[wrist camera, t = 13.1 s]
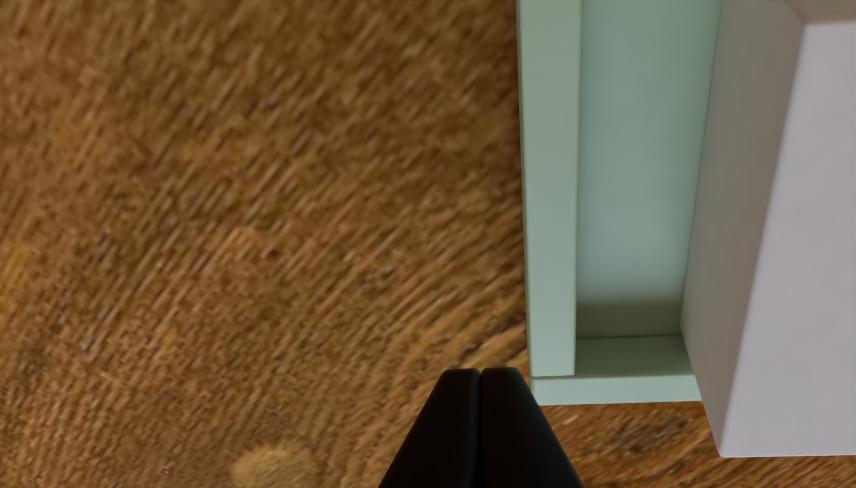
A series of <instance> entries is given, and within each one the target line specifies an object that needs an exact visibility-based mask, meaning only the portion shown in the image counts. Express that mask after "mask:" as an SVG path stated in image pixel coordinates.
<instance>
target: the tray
mask: <svg viewBox="0 0 856 488" xmlns="http://www.w3.org/2000/svg"><path fill="white" fill-rule="evenodd" d="M722 1H723V0H516V27H517V57H518V87H519V117H520V148H521V178H522V208H523V238H524V268H525V298H526V328H527V354H528V365H529V381H530V391H531V393H532V394H533V396H534V398H535V400H536V401H537V403H538V405H568V404H603V403H638V402H674V401H702V398H701V395H700V391H699V388H698V385H697V381H696V378H695V375H694V372H693V368H692V365H691V362H690V358H689V355H688V352H687V348H686V345H685V342H684V339H683V335H682V332H681V329H680V318H681V311H682V303H683V295H684V288H685V280H686V273H687V265H688V258H689V250H690V243H691V235H692V227H693V220H694V212H695V205H696V197H697V190H698V182H699V175H700V167H701V159H702V152H703V144H704V137H705V129H706V122H707V114H708V107H709V99H710V91H711V84H712V76H713V69H714V61H715V54H716V46H717V39H718V31H719V23H720V16H721V8H722Z"/></svg>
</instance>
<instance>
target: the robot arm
mask: <svg viewBox="0 0 856 488" xmlns="http://www.w3.org/2000/svg"><path fill="white" fill-rule="evenodd" d="M378 488H585V487H584V485H583V483H582V482H581V480H580V478H579V476H578V474H577V473H576V471H575V469H574V467H573V466H572V464H571V462H570V460H569V458H568V457H567V455H566V453H565V451H564V450H563V448H562V446H561V444H560V442H559V441H558V439H557V437H556V435H555V434H554V432H553V430H552V428H551V426H550V425H549V423H548V421H547V419H546V418H545V416H544V414H543V412H542V410H541V409H540V407H539V405H538V403H537V401H536V400H535V398H534V396H533V394H532V393H531V391H530V389H529V387H528V385H527V384H526V382H525V380H524V378H523V377H522V375H521V373H520V372H519V371H518V369H516V368H514V367H499V368H485V369H484V370H483V371H482V372H481V374H480V372H479V370H477V369H475V368H469V369H448V370H446V371H444V372H443V373H442V375H441V376H440V378H439V380H438V382H437V383H436V385H435V387H434V389H433V390H432V392H431V394H430V396H429V398H428V399H427V401H426V403H425V405H424V406H423V408H422V410H421V412H420V414H419V415H418V417H417V419H416V421H415V422H414V424H413V426H412V428H411V430H410V431H409V433H408V435H407V437H406V438H405V440H404V442H403V444H402V446H401V447H400V449H399V451H398V453H397V454H396V456H395V458H394V460H393V462H392V463H391V465H390V467H389V469H388V470H387V472H386V474H385V476H384V478H383V479H382V481H381V483H380V485H379V486H378Z"/></svg>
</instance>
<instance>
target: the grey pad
mask: <svg viewBox="0 0 856 488" xmlns="http://www.w3.org/2000/svg"><path fill="white" fill-rule="evenodd" d="M680 329H681V332H682V335H683V339H684V342H685V345H686V348H687V352H688V355H689V358H690V362H691V365H692V368H693V372H694V375H695V378H696V381H697V385H698V388H699V391H700V395H701V398H702V401H703V405H704V408H705V411H706V414H707V418H708V421H709V424H710V428H711V431H712V434H713V438H714V441H715V444H716V447H717V451H718V453H719V455H720V456H721V457H772V456H822V455H856V0H723V1H722V8H721V16H720V23H719V31H718V39H717V46H716V54H715V61H714V69H713V76H712V84H711V91H710V99H709V107H708V114H707V122H706V129H705V137H704V144H703V152H702V159H701V167H700V175H699V182H698V190H697V197H696V205H695V212H694V220H693V227H692V235H691V243H690V250H689V258H688V265H687V273H686V280H685V288H684V295H683V303H682V311H681V318H680Z"/></svg>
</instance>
